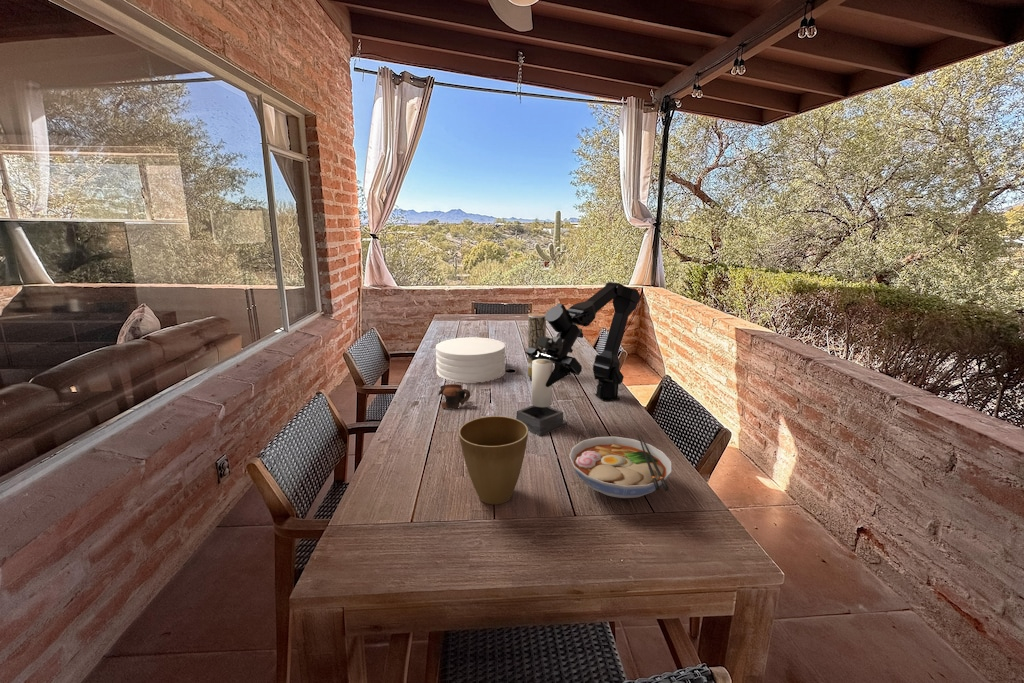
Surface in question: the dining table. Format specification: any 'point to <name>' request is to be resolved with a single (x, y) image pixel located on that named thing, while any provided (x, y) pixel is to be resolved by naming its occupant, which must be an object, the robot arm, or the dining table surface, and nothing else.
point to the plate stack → (470, 359)
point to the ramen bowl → (621, 466)
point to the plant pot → (494, 455)
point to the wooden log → (535, 333)
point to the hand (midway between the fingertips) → (538, 383)
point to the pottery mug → (454, 395)
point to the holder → (541, 419)
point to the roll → (541, 382)
